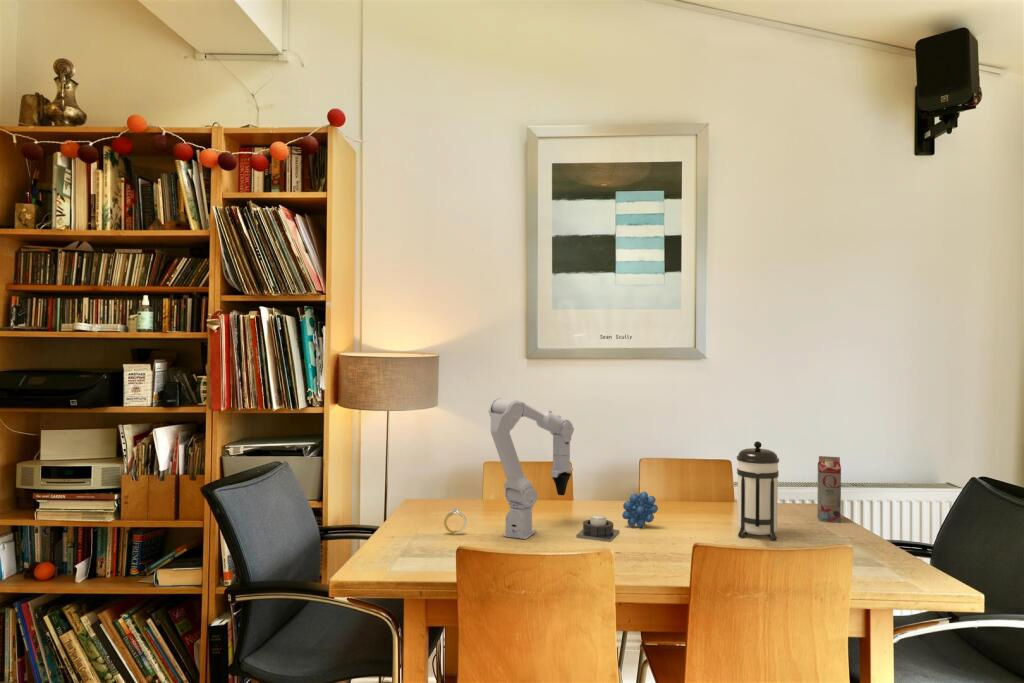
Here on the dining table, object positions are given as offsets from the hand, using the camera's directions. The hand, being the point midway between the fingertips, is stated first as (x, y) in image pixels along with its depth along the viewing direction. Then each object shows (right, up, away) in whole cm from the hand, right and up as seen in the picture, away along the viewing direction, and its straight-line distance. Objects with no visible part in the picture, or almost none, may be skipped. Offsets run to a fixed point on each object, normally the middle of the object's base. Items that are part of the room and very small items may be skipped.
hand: (561, 494), depth 229 cm
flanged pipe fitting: (+11, -10, -12) cm, 19 cm away
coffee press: (+62, -10, -13) cm, 64 cm away
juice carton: (+94, -10, +7) cm, 94 cm away
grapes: (+26, -10, -3) cm, 28 cm away
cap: (+11, -9, -12) cm, 19 cm away
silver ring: (-35, -10, -12) cm, 38 cm away
